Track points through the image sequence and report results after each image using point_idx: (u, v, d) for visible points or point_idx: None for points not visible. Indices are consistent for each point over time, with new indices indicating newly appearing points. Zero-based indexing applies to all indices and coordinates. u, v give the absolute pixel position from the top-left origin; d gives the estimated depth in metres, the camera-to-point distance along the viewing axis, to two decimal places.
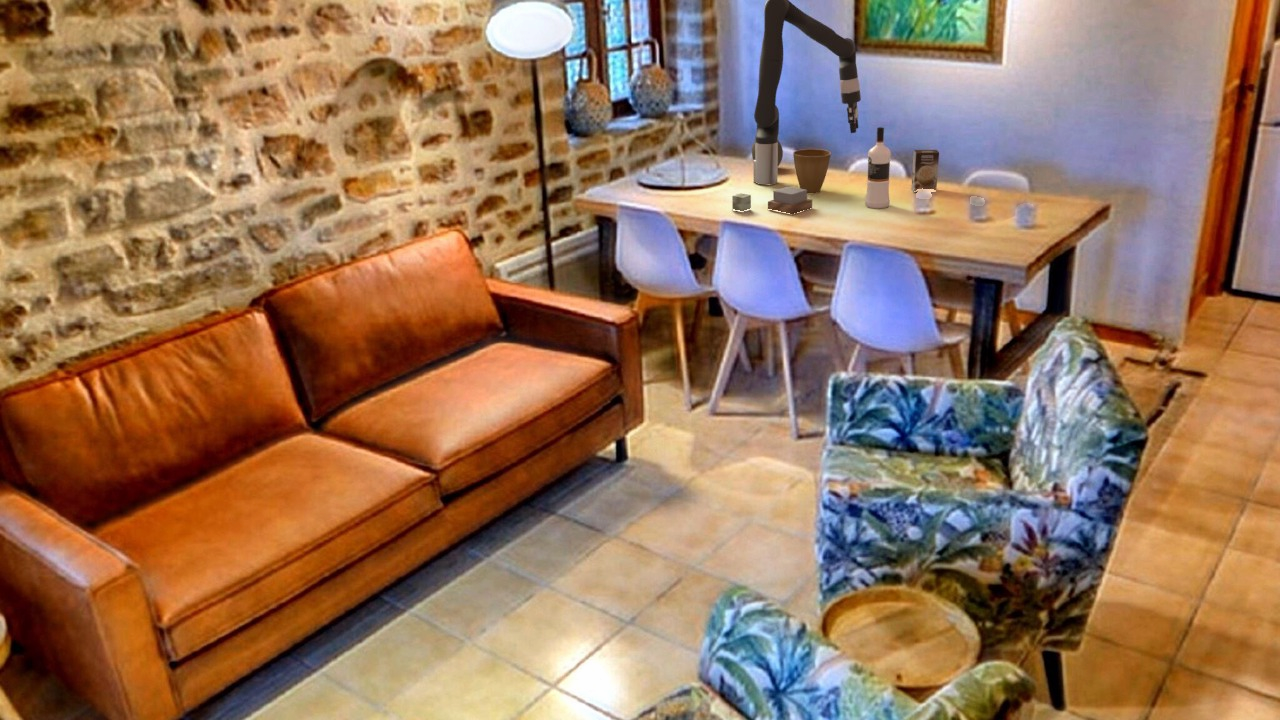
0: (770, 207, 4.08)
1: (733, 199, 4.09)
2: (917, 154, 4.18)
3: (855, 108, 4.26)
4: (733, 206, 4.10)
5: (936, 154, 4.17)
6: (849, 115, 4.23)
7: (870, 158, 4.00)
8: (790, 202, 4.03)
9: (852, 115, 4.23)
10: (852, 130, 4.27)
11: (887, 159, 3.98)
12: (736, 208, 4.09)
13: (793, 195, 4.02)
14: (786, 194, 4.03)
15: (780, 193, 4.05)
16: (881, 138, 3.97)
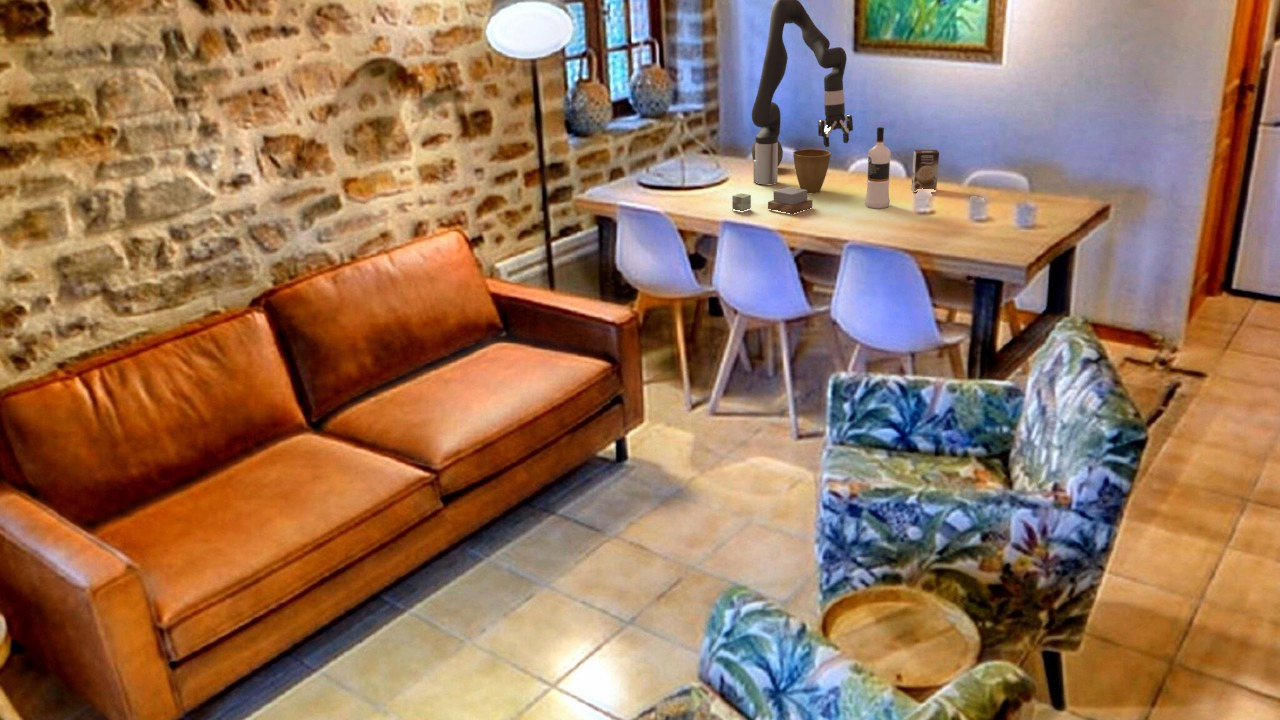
0: (770, 207, 4.08)
1: (733, 199, 4.09)
2: (917, 154, 4.18)
3: (833, 122, 4.07)
4: (733, 206, 4.10)
5: (936, 154, 4.17)
6: (819, 128, 4.08)
7: (870, 158, 4.00)
8: (790, 202, 4.02)
9: (820, 128, 4.07)
10: (824, 144, 4.10)
11: (887, 159, 3.98)
12: (736, 208, 4.09)
13: (793, 195, 4.02)
14: (786, 194, 4.03)
15: (780, 193, 4.05)
16: (881, 138, 3.97)
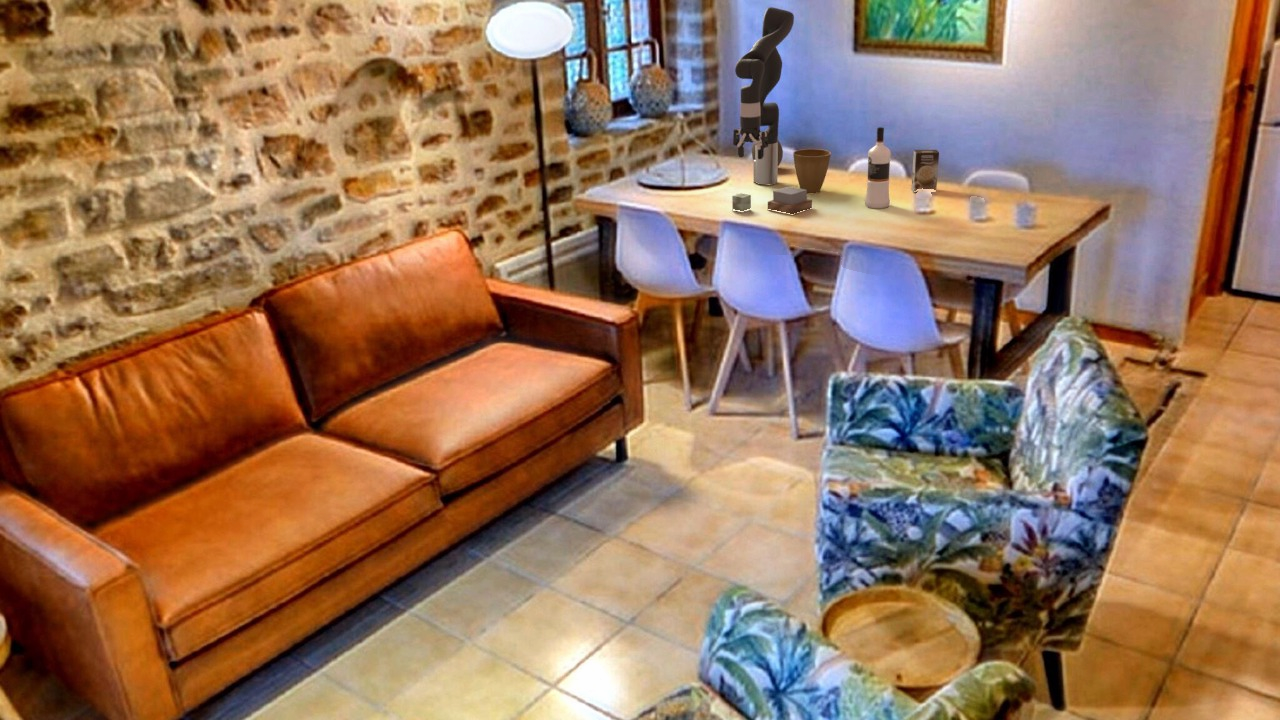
0: (770, 207, 4.08)
1: (733, 199, 4.09)
2: (917, 154, 4.18)
3: None
4: (733, 206, 4.10)
5: (936, 154, 4.17)
6: None
7: (870, 158, 4.00)
8: (790, 202, 4.03)
9: None
10: None
11: (887, 159, 3.98)
12: (736, 208, 4.09)
13: (793, 195, 4.02)
14: (786, 194, 4.03)
15: (780, 193, 4.05)
16: (881, 138, 3.97)
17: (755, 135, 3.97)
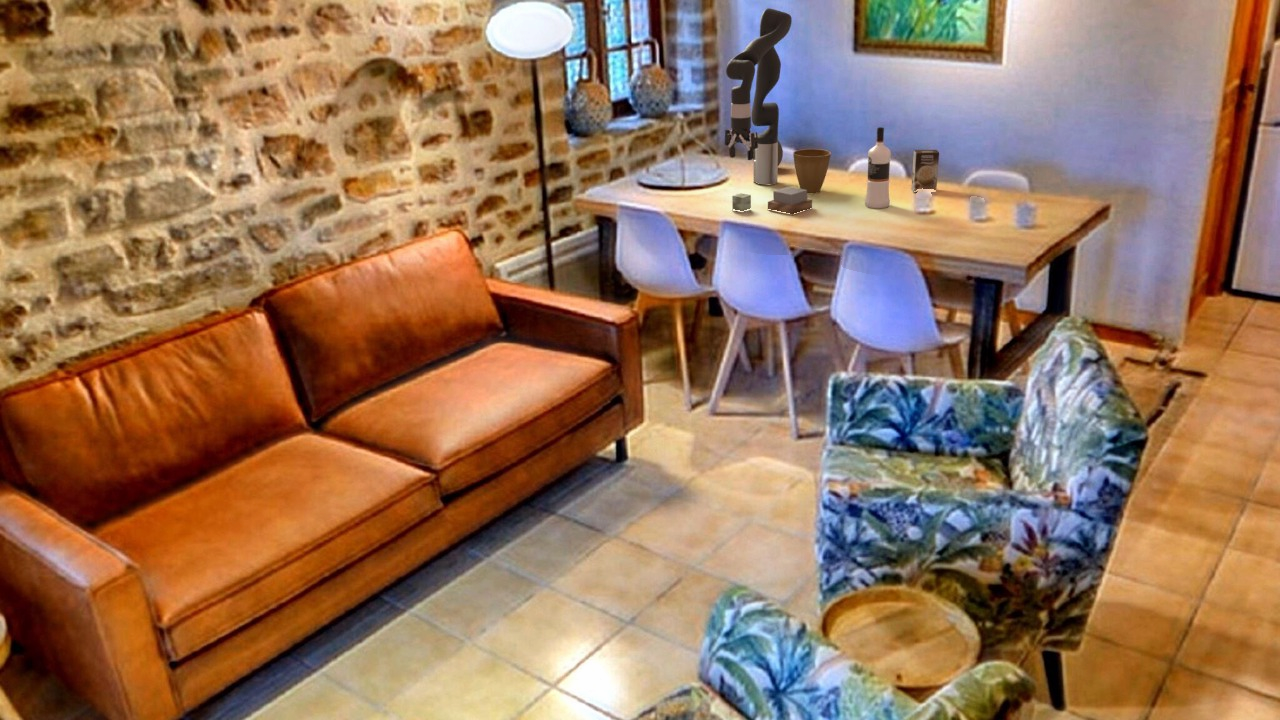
0: (770, 207, 4.08)
1: (733, 199, 4.09)
2: (917, 154, 4.18)
3: None
4: (733, 206, 4.10)
5: (936, 154, 4.17)
6: None
7: (870, 158, 4.00)
8: (790, 202, 4.02)
9: None
10: None
11: (887, 159, 3.98)
12: (736, 208, 4.09)
13: (793, 195, 4.01)
14: (786, 194, 4.03)
15: (780, 193, 4.05)
16: (881, 138, 3.97)
17: (745, 136, 3.97)
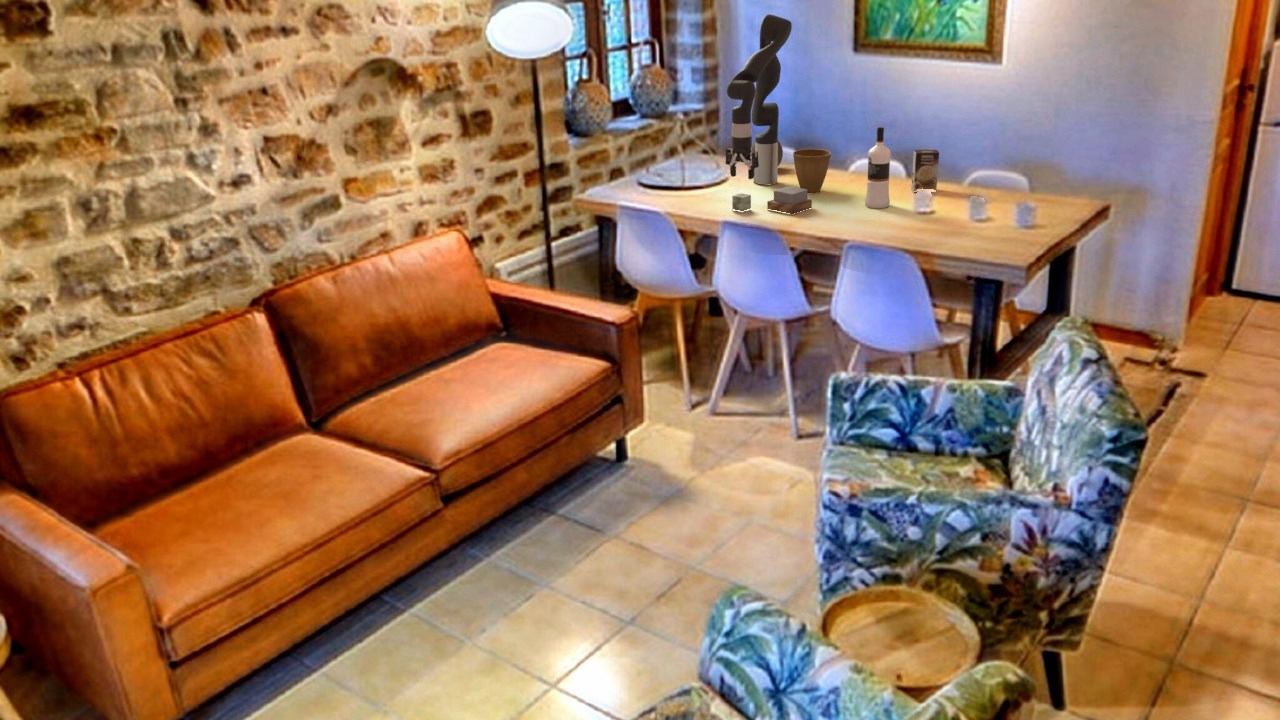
0: (770, 207, 4.08)
1: (733, 199, 4.09)
2: (917, 154, 4.18)
3: None
4: (733, 206, 4.10)
5: (936, 154, 4.17)
6: None
7: (870, 158, 4.00)
8: (791, 202, 4.03)
9: None
10: None
11: (887, 159, 3.98)
12: (736, 208, 4.09)
13: (794, 195, 4.02)
14: (787, 194, 4.03)
15: (781, 193, 4.05)
16: (881, 138, 3.97)
17: (746, 155, 4.00)
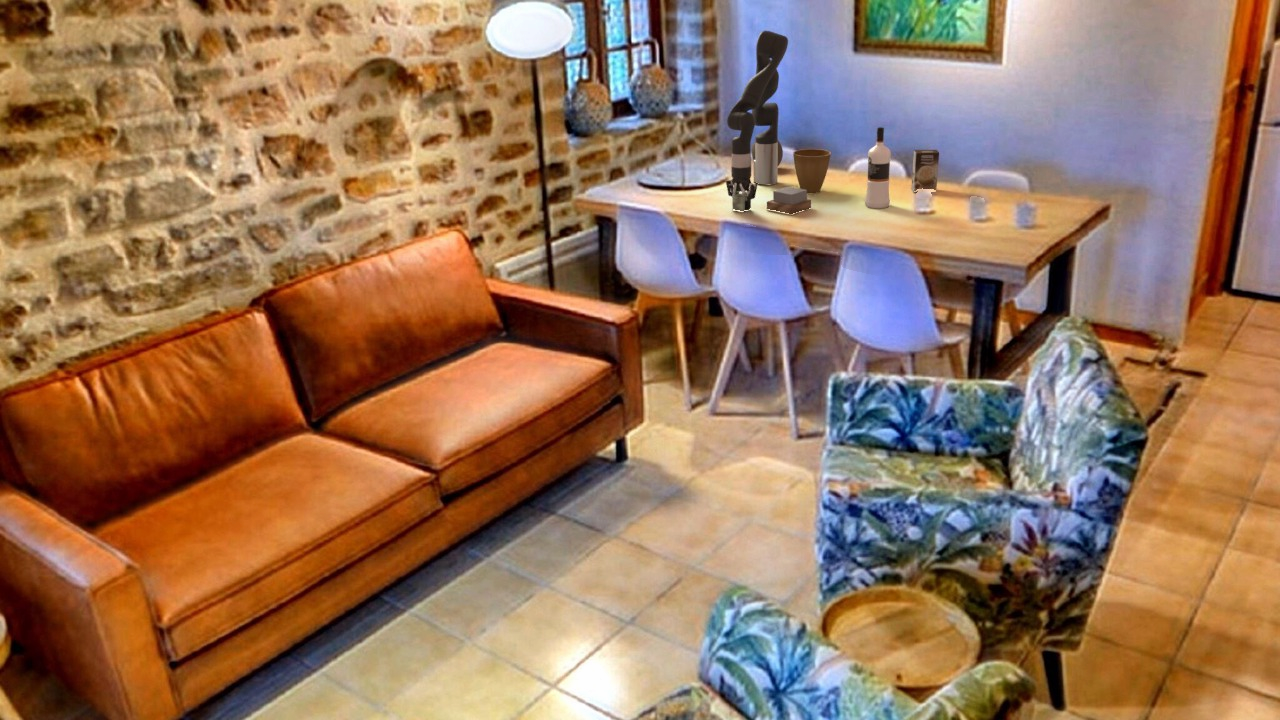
0: (769, 207, 4.08)
1: (733, 199, 4.09)
2: (917, 154, 4.18)
3: None
4: (733, 206, 4.10)
5: (936, 154, 4.17)
6: None
7: (870, 158, 4.00)
8: (790, 202, 4.02)
9: None
10: None
11: (887, 159, 3.98)
12: (736, 208, 4.09)
13: (793, 195, 4.01)
14: (786, 194, 4.03)
15: (780, 193, 4.05)
16: (881, 138, 3.97)
17: (745, 186, 4.05)
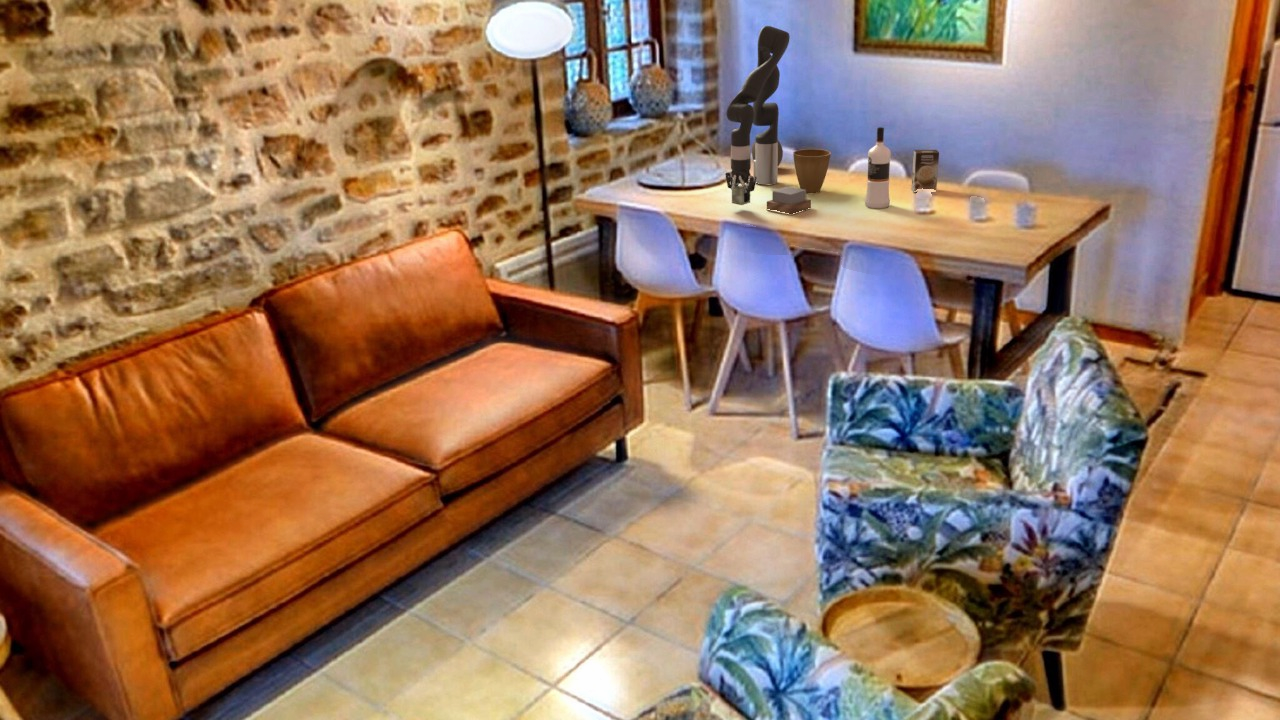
0: (769, 207, 4.08)
1: (732, 191, 4.08)
2: (917, 154, 4.18)
3: None
4: (732, 198, 4.09)
5: (936, 154, 4.17)
6: None
7: (870, 158, 4.00)
8: (789, 202, 4.03)
9: None
10: None
11: (887, 159, 3.98)
12: (735, 200, 4.09)
13: (792, 195, 4.02)
14: (785, 194, 4.03)
15: (779, 193, 4.05)
16: (881, 138, 3.97)
17: (744, 178, 4.04)
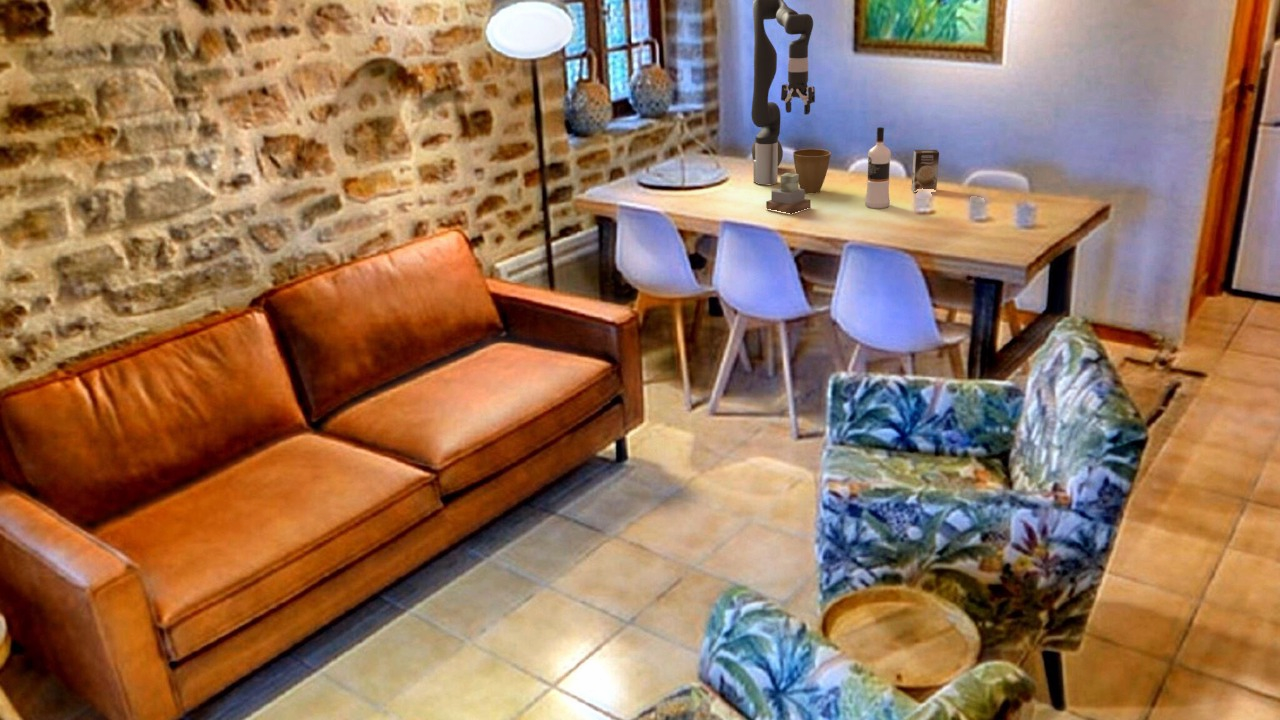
0: (768, 207, 4.09)
1: (781, 178, 4.04)
2: (917, 154, 4.18)
3: None
4: (781, 186, 4.05)
5: (936, 154, 4.17)
6: None
7: (870, 158, 4.00)
8: (789, 202, 4.03)
9: None
10: None
11: (887, 159, 3.98)
12: (785, 188, 4.05)
13: (792, 195, 4.02)
14: (785, 194, 4.03)
15: (778, 193, 4.05)
16: (881, 138, 3.97)
17: (802, 90, 4.02)
